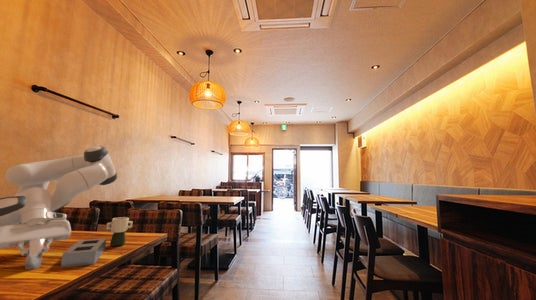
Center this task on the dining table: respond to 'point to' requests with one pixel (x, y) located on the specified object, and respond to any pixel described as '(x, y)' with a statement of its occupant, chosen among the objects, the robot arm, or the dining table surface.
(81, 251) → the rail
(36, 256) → the steel pin
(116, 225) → the character mug
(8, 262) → the dining table surface
